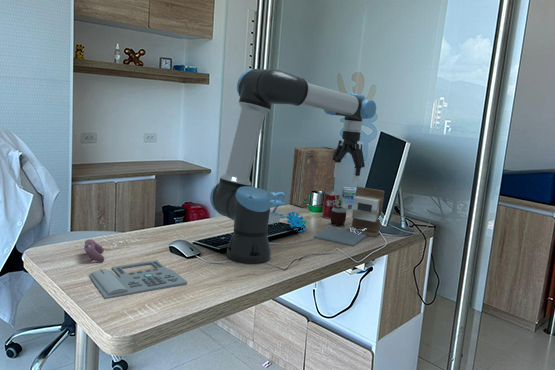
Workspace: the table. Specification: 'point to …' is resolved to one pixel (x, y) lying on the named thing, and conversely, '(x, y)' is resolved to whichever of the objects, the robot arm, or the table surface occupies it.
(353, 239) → the mat
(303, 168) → the book
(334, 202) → the soda can
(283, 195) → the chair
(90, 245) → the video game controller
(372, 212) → the mounted unit
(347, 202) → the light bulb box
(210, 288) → the table surface
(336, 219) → the mate gourd
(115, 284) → the office telephone
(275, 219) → the steel block
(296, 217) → the gear
